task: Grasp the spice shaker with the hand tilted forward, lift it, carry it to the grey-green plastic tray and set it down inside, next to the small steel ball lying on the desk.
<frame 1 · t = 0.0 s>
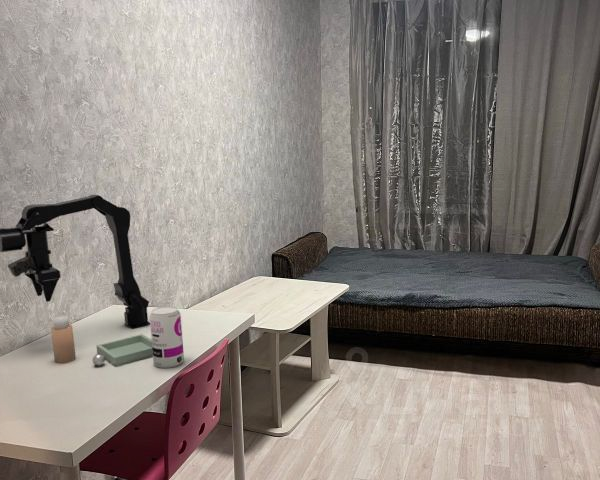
hand: (43, 298, 183), 15 cm above the table, tool pointing down, fingers open, 9 cm apart
tray: (129, 353, 175), on the table
supplement can: (169, 363, 167), on the table
ball: (98, 360, 167), point 2 cm above the table
shaker: (65, 359, 173), on the table
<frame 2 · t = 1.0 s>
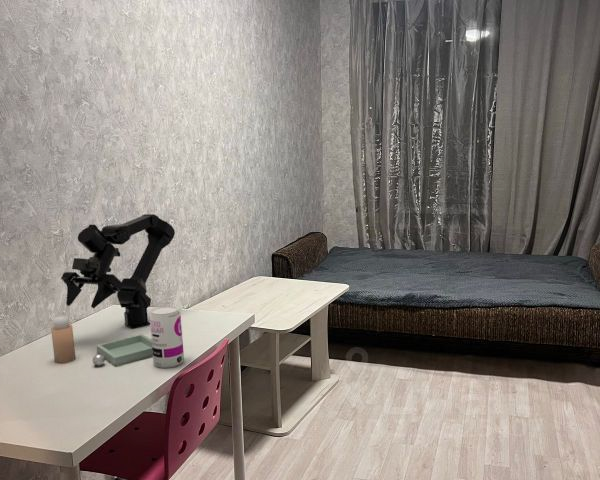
hand: (79, 306, 178), 13 cm above the table, tool tilted 45°, fingers open, 9 cm apart
nothing on the table moved.
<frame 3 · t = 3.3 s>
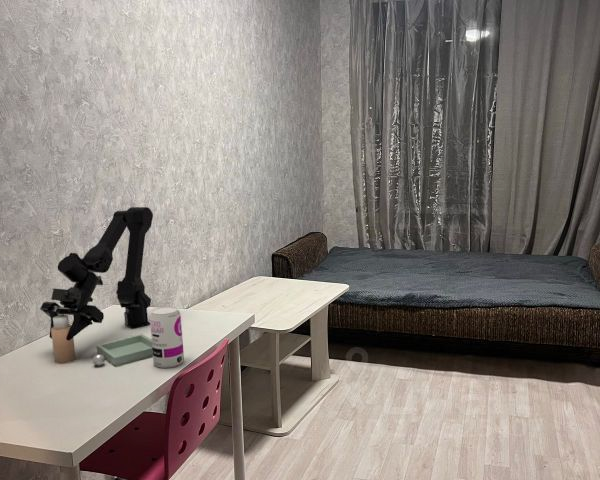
hand: (59, 338, 170), 7 cm above the table, tool tilted 45°, fingers closed on shaker, 6 cm apart
shaker: (65, 359, 173), on the table, touching gripper
everything else where it was.
when the fingers open (8 cm above the table, at t = 7.1 s): shaker drops 1 cm, resting on tray.
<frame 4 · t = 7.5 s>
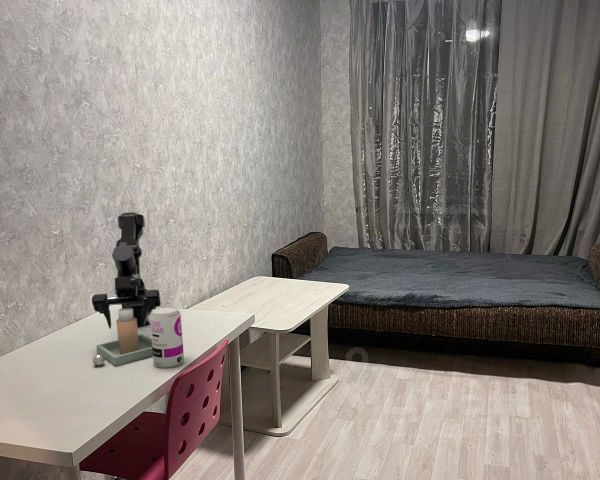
hand: (126, 326, 172), 9 cm above the table, tool tilted 45°, fingers open, 9 cm apart
shaker: (129, 351, 175), point 1 cm above the table, touching tray
everything else where it was.
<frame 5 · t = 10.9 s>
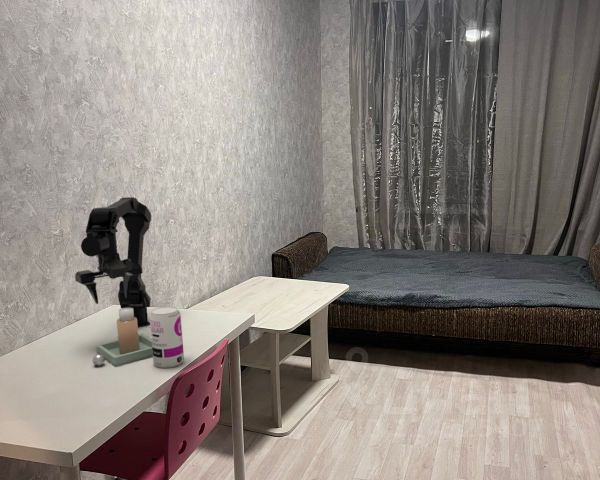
hand: (112, 300, 184), 13 cm above the table, tool pointing down, fingers open, 9 cm apart
nothing on the table moved.
at the end: shaker inside the target area on the tray (0.0 cm from its centre), point 0.6 cm above the tray's base; shaker tilted 0°; the gripper is holding nothing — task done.
